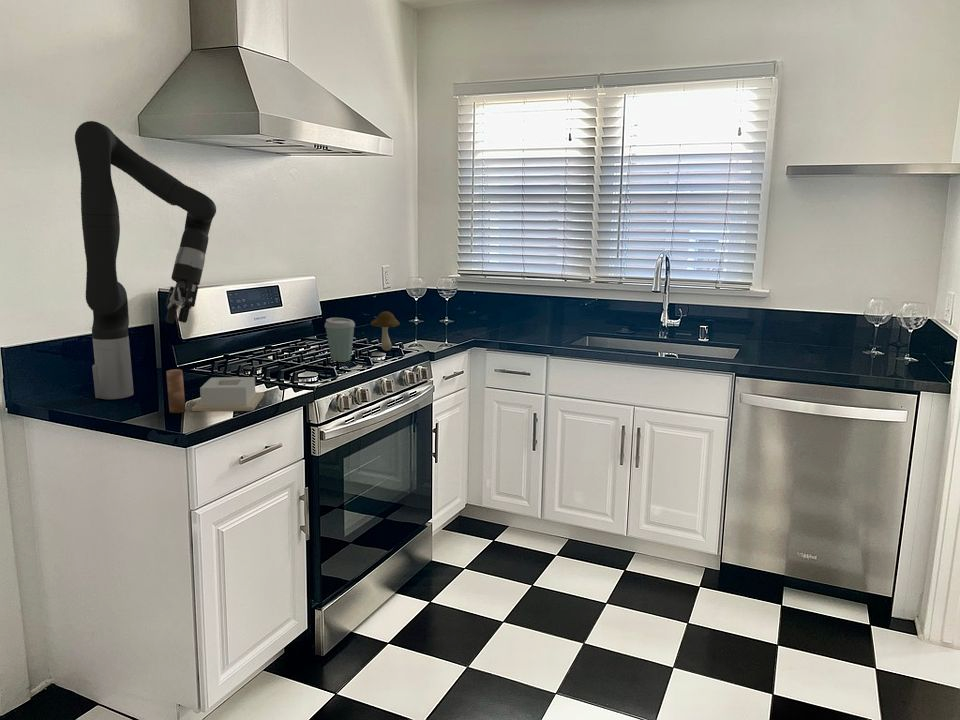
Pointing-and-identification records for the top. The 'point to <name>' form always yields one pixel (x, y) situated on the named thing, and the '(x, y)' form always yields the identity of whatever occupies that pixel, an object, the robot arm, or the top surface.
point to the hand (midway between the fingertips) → (175, 322)
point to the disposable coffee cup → (340, 338)
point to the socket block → (228, 395)
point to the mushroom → (385, 327)
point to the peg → (175, 391)
